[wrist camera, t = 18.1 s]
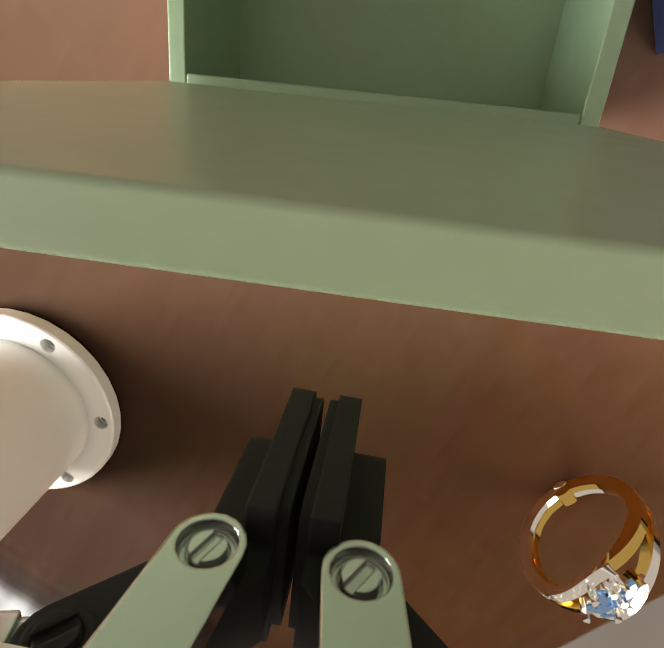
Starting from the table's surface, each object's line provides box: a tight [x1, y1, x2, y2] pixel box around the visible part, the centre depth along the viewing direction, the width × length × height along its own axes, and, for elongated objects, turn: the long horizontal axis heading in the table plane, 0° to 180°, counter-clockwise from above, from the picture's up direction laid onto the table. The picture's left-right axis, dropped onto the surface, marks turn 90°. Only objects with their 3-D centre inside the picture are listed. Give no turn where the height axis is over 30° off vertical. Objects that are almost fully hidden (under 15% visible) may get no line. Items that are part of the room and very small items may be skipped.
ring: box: [518, 475, 660, 624], centre depth 26 cm, size 7×3×8 cm, turn 131°
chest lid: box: [0, 80, 664, 340], centre depth 10 cm, size 15×14×1 cm
